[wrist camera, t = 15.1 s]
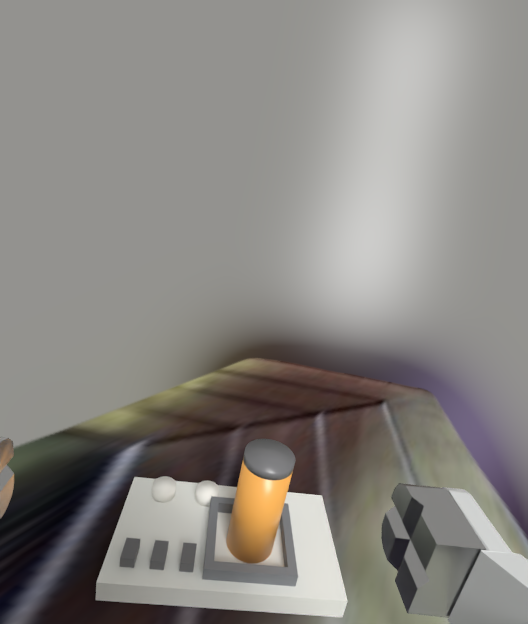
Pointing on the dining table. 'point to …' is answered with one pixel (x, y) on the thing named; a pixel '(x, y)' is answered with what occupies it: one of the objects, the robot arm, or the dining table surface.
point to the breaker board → (218, 554)
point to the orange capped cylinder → (259, 499)
